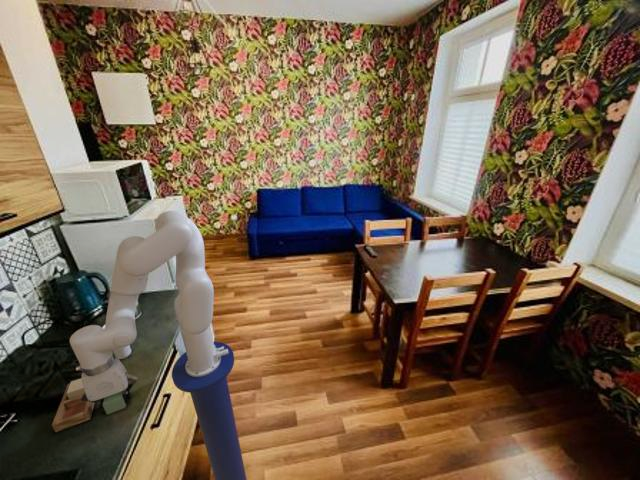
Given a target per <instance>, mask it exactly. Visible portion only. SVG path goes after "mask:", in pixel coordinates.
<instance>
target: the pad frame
mask: <svg viewBox="0 0 640 480" xmlns="http://www.w3.org/2000/svg"><path fill="white" fill-rule="evenodd" d="M69 385H70V383H67V385H66V388H65V390H64V393H63V396H62V398H61V401H60V404H59V405H58V408H57V411H56V414H55V416H54V418H53V421H52V424H51V427H52V429H53V430H54V432H55V433H58V432H60V431H63V430H66V429H68V428H71V427H74V426H76V425H79V424H81V423H85V422H87V421H90V420H91V418H92V414H93V410H94V408H95V404H96V403H94V402H89V401H81V397H82V395H80V396H77V397H74V398H71V399H69V398H68V396H67V394H66V393H67V391H68V388H69Z"/></svg>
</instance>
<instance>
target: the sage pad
mask: <svg viewBox="0 0 640 480" xmlns="http://www.w3.org/2000/svg"><path fill="white" fill-rule="evenodd" d="M103 407H104V409H105V411H106V412H105V414H106V415H110V414H112V413H116V412H118V411H121V410H123V409H126V407H127V404H126V403H125V401H124V399H123V393H122V392H118V393H116V394H113V395H110V396H107V397H104V401H103Z"/></svg>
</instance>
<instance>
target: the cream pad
mask: <svg viewBox="0 0 640 480" xmlns="http://www.w3.org/2000/svg"><path fill="white" fill-rule="evenodd" d="M69 384H70V385H69V388H68V391H67V393H66V394H67V396H68V398H69V399H71V398H74V397H77V396H80V395H83V394H84V392H85V391H84V387H83V383H82V377H81V378H78V379H75V380H72V381H70V382H69Z"/></svg>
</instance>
